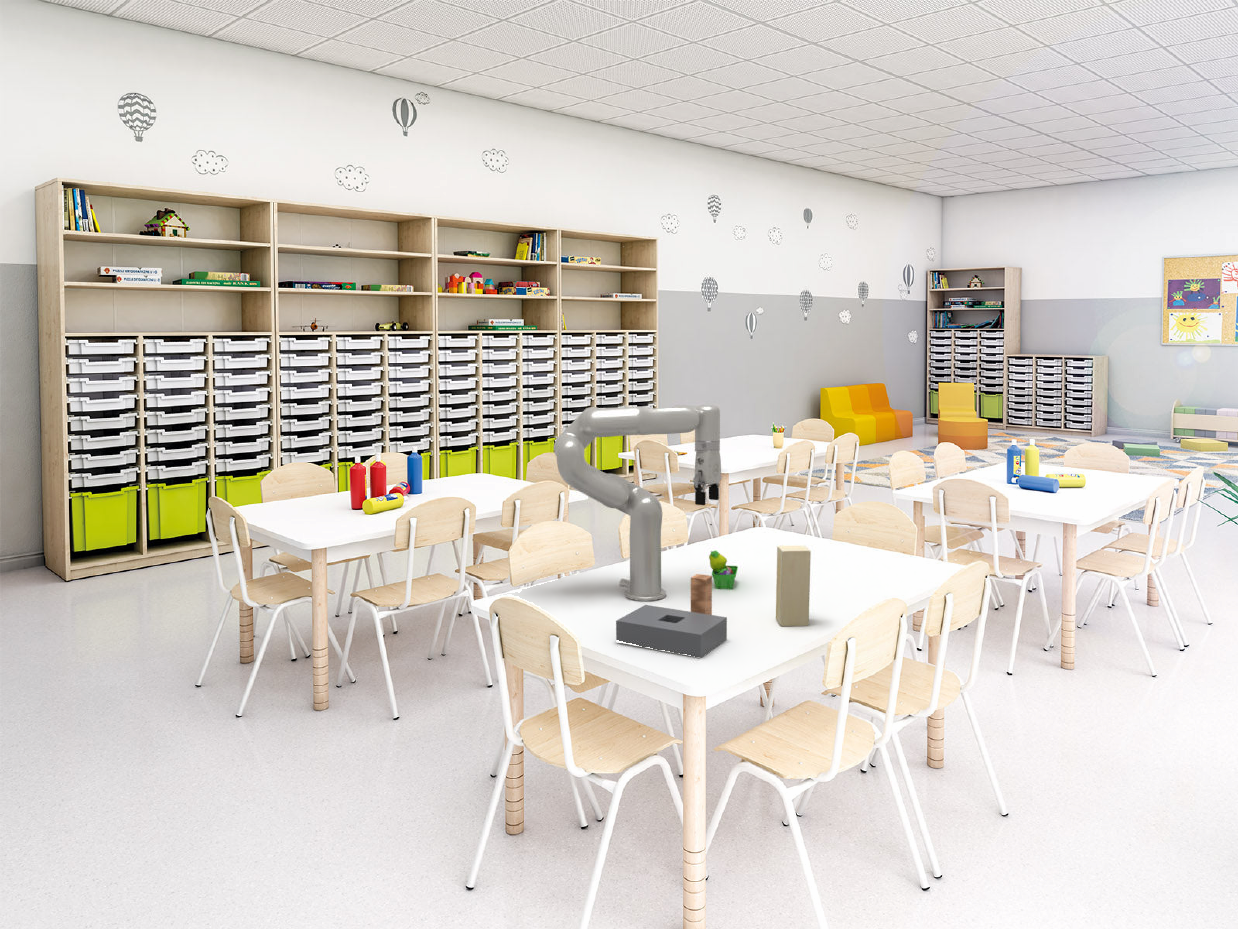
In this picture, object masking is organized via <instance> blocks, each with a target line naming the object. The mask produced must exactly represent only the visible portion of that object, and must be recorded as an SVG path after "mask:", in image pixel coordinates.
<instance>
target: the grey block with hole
mask: <svg viewBox="0 0 1238 929" xmlns="http://www.w3.org/2000/svg"><path fill="white" fill-rule="evenodd" d="M727 619H728V617H726V616H722V615H721V616H720V615H713V614H712V615H709V614H702V613H696V612H691V611H687V610H681V609H675V608H669V607H663V606H662V607H661V606H654V605H648V604H644V605H643V606H640V607H639V608H637V609H635V610H633V611H631V612H628V613H627V614H626V615H624V616H622V617H620V618H617V619H616V620H615V626H616V627H615V635H616V636H615V639H616V640H619V641H623V642H626V643H632V644H636V645H639V646H642V647H650V648H653V649H657V650H665V651H670V652H674V653H680V654H687V655H691V656H695V657H694V658H696V657H702V656H703V657H705V656H706V655H708V654H709V653H710V652H712V651H713V650H714V649H715V647H716V648H718V646H720V645H722V644H723V643H725V642H726V641H727V638H728V637H727V636H728V634H727V633H728V632H727V631H728V630H727V629H728V628H727V627H728V620H727ZM616 640H615V641H616ZM719 644H720V645H719ZM657 650H656V651H657ZM711 650H712V651H711ZM709 651H710V652H709ZM708 652H709V653H708ZM674 653H673V654H674ZM705 654H706V655H705ZM704 655H705V656H704ZM691 656H690V657H691ZM703 657H702V658H703Z"/></svg>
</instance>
